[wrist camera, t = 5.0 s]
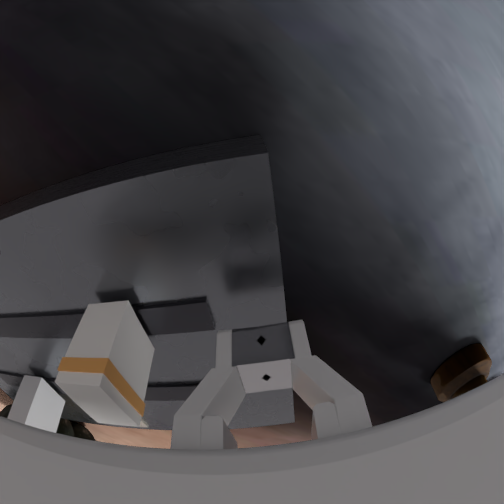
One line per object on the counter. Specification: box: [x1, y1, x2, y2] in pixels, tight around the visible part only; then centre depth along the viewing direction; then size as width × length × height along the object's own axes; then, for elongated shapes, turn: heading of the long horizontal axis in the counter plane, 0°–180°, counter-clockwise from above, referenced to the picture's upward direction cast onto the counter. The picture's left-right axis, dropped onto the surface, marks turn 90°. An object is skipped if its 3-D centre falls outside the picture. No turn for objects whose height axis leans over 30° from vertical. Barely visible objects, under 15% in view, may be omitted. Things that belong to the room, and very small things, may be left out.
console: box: [0, 135, 295, 430], centre depth 15 cm, size 26×18×3 cm
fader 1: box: [7, 375, 65, 433], centre depth 14 cm, size 2×3×4 cm, turn 8°
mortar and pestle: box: [431, 343, 492, 402], centre depth 15 cm, size 7×6×18 cm
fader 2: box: [55, 300, 155, 427], centre depth 10 cm, size 2×3×4 cm
